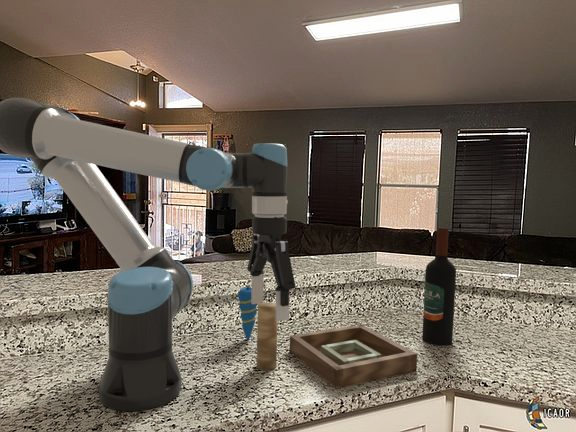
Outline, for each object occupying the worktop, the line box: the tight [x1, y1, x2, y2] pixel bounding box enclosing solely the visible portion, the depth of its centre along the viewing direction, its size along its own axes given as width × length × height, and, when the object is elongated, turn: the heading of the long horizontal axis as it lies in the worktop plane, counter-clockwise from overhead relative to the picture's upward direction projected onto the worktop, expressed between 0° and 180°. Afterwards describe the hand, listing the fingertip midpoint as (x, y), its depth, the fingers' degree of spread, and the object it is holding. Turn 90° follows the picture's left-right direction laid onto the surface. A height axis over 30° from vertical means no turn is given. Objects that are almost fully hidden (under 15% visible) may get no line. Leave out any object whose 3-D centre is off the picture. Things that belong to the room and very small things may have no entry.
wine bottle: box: [421, 226, 457, 347], centre depth 117 cm, size 8×8×30 cm
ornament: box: [237, 284, 258, 341], centre depth 115 cm, size 5×5×15 cm
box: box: [289, 324, 418, 390], centre depth 104 cm, size 21×21×4 cm
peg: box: [256, 301, 278, 372], centre depth 99 cm, size 4×4×14 cm
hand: (269, 311), depth 99 cm, fingers open, 13 cm apart
